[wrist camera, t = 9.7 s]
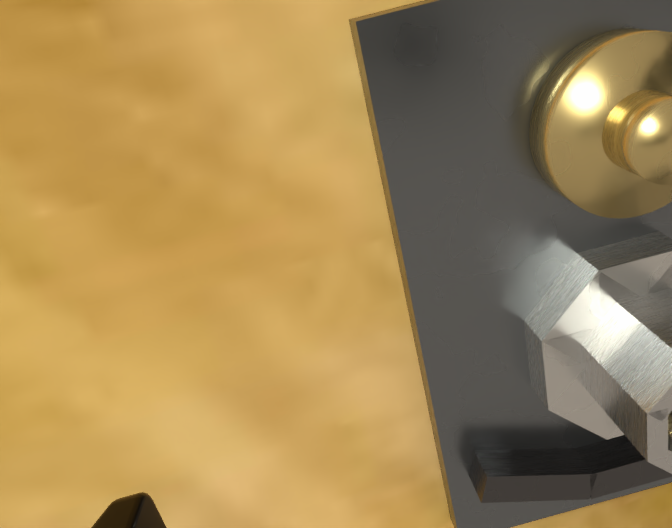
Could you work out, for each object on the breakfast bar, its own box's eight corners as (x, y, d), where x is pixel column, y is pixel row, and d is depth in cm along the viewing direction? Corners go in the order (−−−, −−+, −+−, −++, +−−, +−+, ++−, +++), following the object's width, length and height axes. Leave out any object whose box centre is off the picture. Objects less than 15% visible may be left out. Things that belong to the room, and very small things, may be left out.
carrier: (815, -100, 18) (969, -124, 14) (767, 430, 26) (855, 504, 23) (349, 19, 18) (377, 27, 14) (450, 518, 26) (485, 609, 22)
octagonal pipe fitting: (716, 215, 20) (851, 280, 16) (709, 381, 23) (822, 476, 19) (518, 268, 20) (596, 349, 16) (536, 429, 23) (606, 536, 18)
